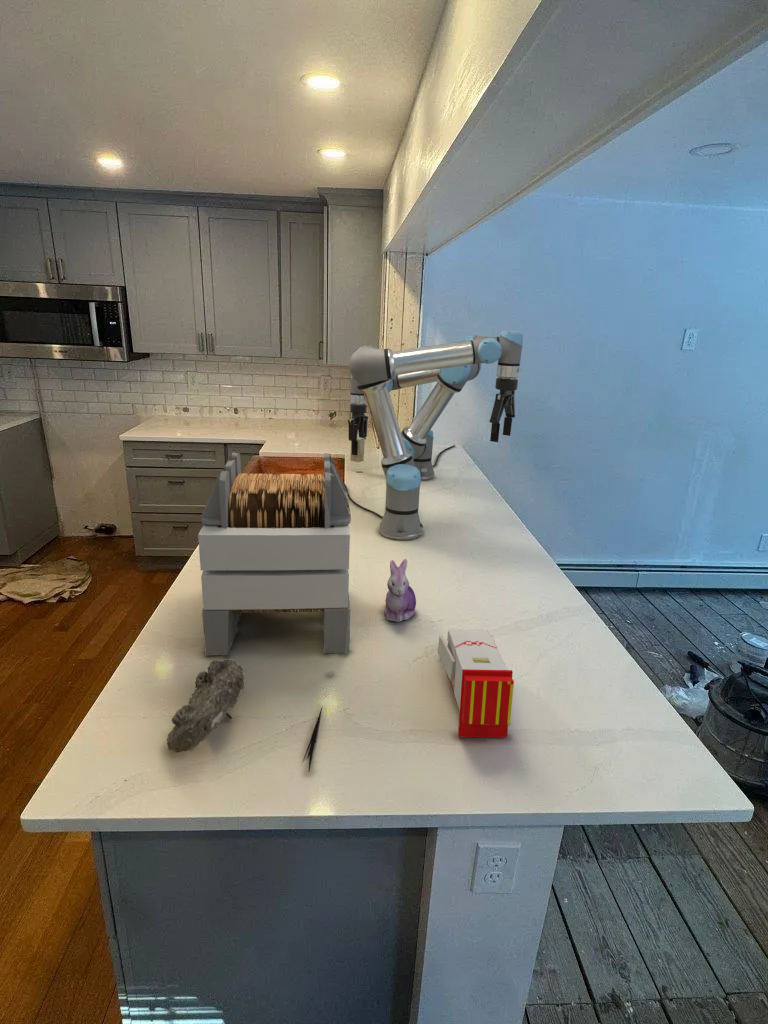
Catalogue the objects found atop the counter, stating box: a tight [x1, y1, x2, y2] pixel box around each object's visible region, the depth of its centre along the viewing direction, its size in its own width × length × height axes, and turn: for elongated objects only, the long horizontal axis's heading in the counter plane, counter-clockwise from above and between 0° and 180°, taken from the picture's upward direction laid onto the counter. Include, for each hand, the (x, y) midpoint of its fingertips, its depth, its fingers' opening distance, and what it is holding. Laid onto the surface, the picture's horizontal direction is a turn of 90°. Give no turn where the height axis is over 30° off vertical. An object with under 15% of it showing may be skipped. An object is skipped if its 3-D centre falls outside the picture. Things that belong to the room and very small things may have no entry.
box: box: [349, 436, 366, 463], centre depth 266 cm, size 5×4×11 cm
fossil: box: [166, 658, 245, 754], centre depth 106 cm, size 22×10×15 cm
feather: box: [301, 673, 332, 771], centre depth 108 cm, size 2×28×2 cm
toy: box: [437, 628, 515, 738], centre depth 117 cm, size 12×13×30 cm
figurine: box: [384, 558, 417, 623], centre depth 145 cm, size 9×10×15 cm
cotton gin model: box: [197, 451, 352, 657], centre depth 136 cm, size 34×33×41 cm
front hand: (500, 438), depth 203 cm, fingers open, 13 cm apart
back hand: (357, 453), depth 267 cm, fingers closed on box, 4 cm apart
